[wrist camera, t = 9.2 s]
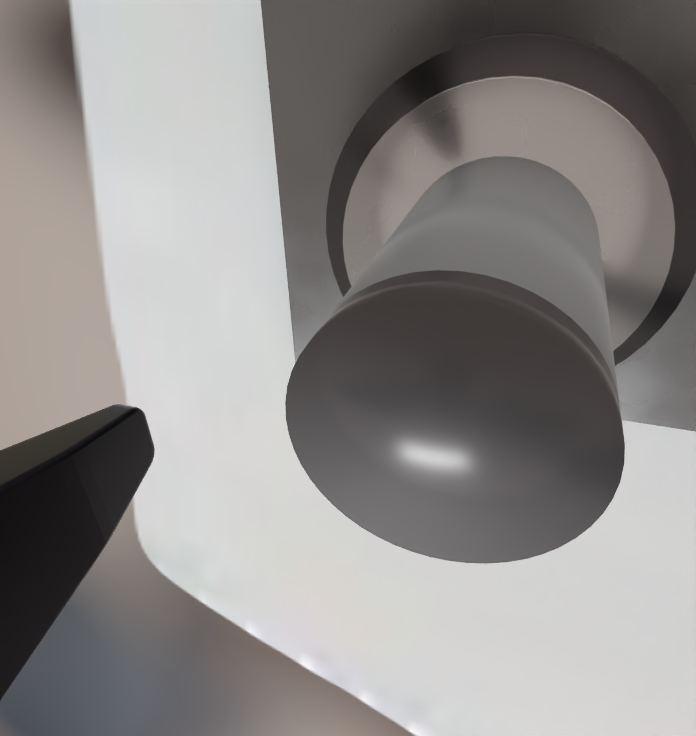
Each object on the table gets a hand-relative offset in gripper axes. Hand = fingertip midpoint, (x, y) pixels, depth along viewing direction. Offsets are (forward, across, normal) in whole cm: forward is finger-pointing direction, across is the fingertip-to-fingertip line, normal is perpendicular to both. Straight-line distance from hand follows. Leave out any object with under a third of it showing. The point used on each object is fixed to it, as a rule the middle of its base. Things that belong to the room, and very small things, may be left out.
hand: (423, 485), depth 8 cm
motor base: (+12, 0, 0) cm, 12 cm away
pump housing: (+9, 0, 0) cm, 9 cm away
